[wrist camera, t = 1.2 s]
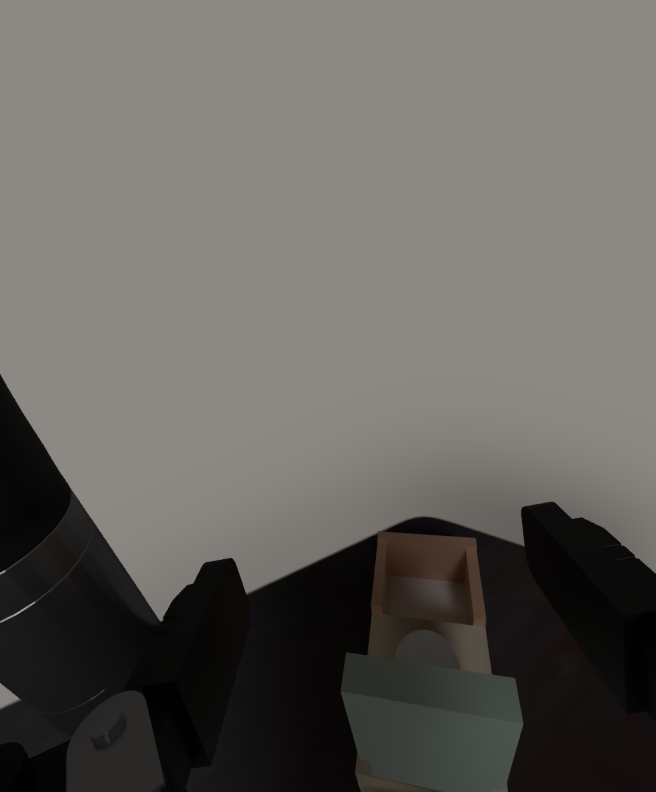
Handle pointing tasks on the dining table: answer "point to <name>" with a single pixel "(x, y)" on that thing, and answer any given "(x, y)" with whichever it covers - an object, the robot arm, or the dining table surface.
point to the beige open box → (384, 645)
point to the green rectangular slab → (432, 723)
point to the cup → (428, 578)
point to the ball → (427, 650)
